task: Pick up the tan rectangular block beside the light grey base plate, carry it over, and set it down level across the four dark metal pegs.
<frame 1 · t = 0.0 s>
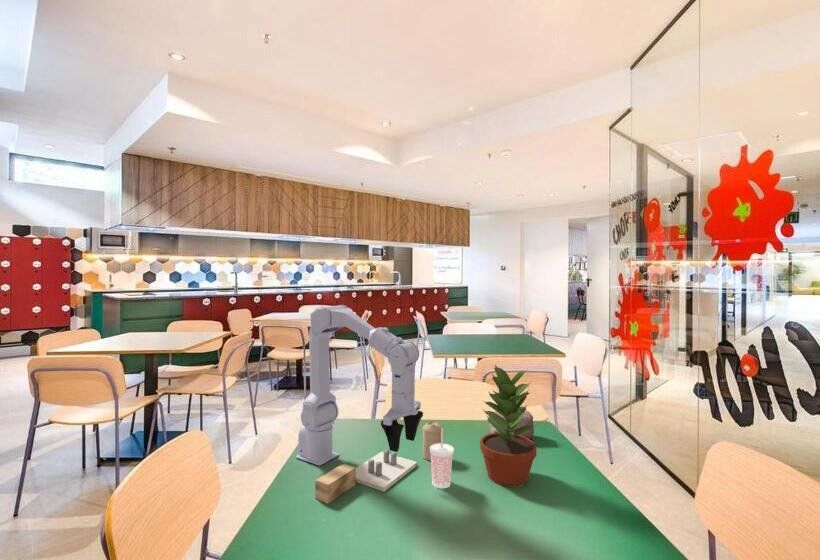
hand: (402, 445, 100), 10 cm above the table, tool pointing down, fingers open, 7 cm apart
tan rectangular block: (336, 492, 97), on the table
beverage cup: (441, 484, 102), on the table
food item: (510, 437, 132), on the table
candle: (432, 457, 117), on the table
peg base: (382, 471, 107), on the table
potted plant: (507, 476, 106), on the table
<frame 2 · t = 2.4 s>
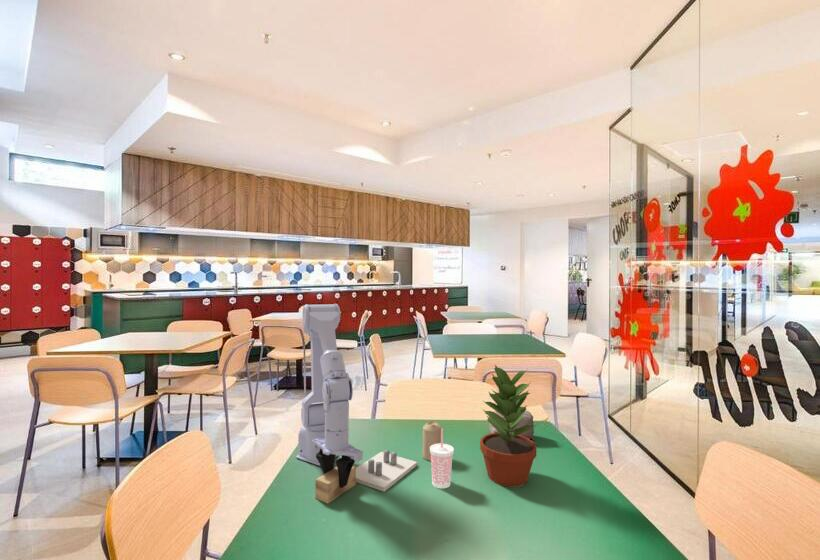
hand: (336, 483, 97), 2 cm above the table, tool pointing down, fingers closed on tan rectangular block, 4 cm apart
tan rectangular block: (336, 491, 97), on the table, touching gripper
everything else where it was.
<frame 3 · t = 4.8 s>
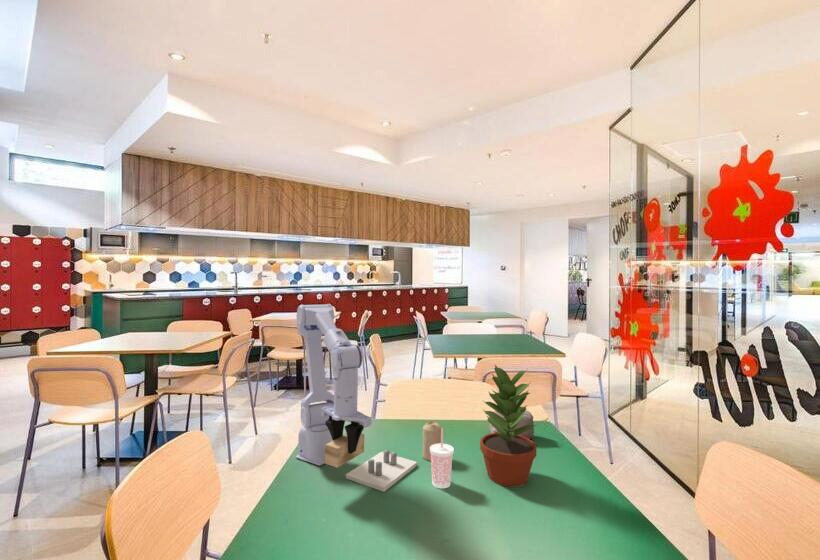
hand: (345, 449, 99), 9 cm above the table, tool pointing down, fingers closed on tan rectangular block, 4 cm apart
tan rectangular block: (345, 457, 99), point 7 cm above the table, touching gripper
everything else where it was.
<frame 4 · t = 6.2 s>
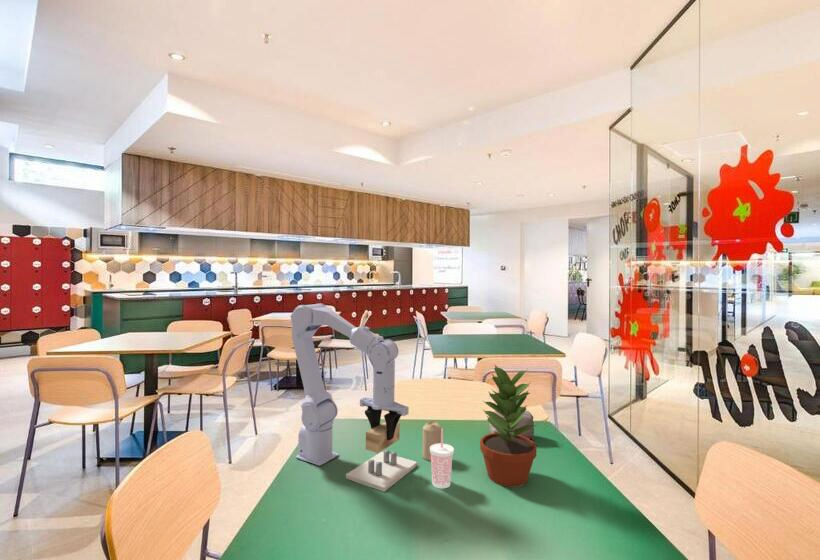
hand: (383, 437, 107), 9 cm above the table, tool pointing down, fingers closed on tan rectangular block, 4 cm apart
tan rectangular block: (383, 444, 107), point 7 cm above the table, touching gripper
everything else where it was.
when the fingers open (7 cm above the table, at t = 7.5 s): tan rectangular block stays where it is, resting on peg base.
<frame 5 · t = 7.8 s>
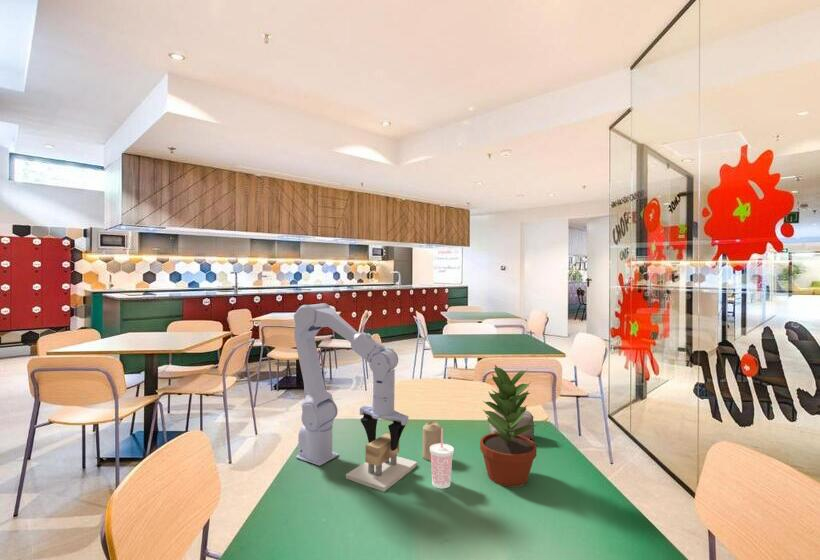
hand: (382, 446, 107), 7 cm above the table, tool pointing down, fingers open, 7 cm apart
tan rectangular block: (382, 456, 107), point 4 cm above the table, touching peg base
everything else where it was.
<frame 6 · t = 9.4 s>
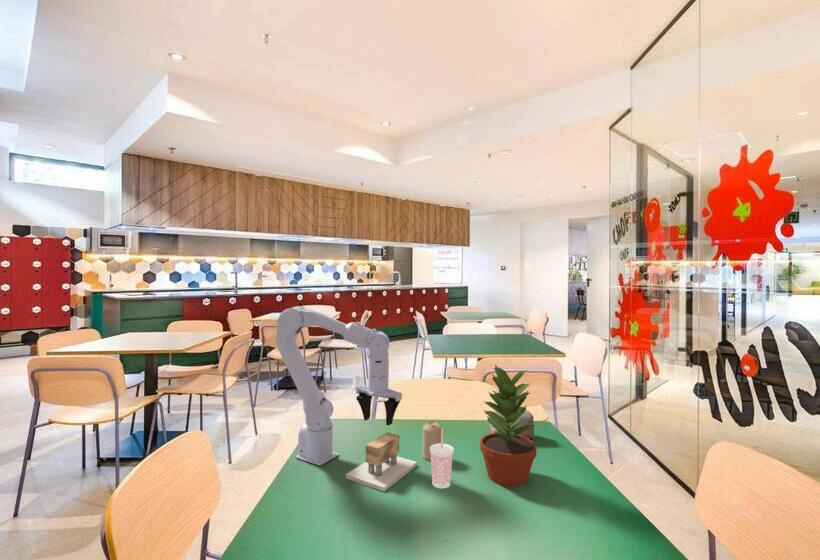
hand: (377, 421, 115), 10 cm above the table, tool pointing down, fingers open, 7 cm apart
nothing on the table moved.
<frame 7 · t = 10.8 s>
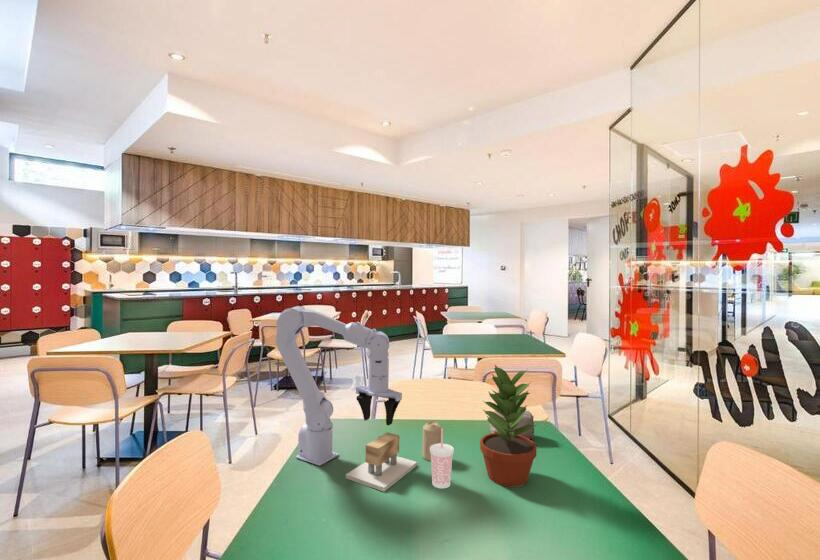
hand: (377, 421, 115), 10 cm above the table, tool pointing down, fingers open, 7 cm apart
nothing on the table moved.
at the end: tan rectangular block 0.0 cm off-centre on the peg base, point 4.0 cm above the peg base's base; tan rectangular block tilted 0°; the gripper is holding nothing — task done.
